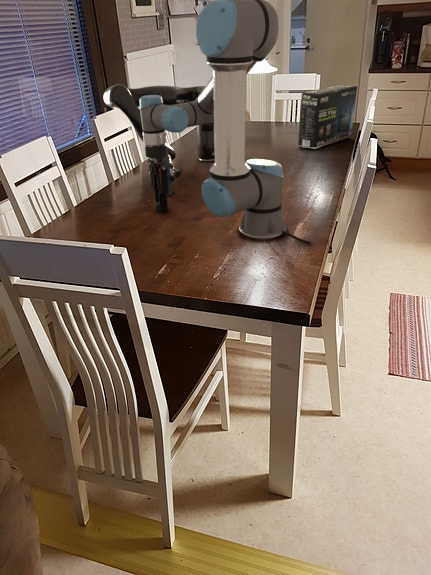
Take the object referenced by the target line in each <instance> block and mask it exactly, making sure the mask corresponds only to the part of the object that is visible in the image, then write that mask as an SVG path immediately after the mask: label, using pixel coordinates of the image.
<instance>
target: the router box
mask: <svg viewBox="0 0 431 575" xmlns="http://www.w3.org/2000/svg"><path fill="white" fill-rule="evenodd" d="M357 93H358V86H356V85H350V84H339V85H338V84H337V85H334V86H328V87H324V88H318V89H314V90H309V91H304V92H301V93H300V109H299V110H300V111H299V124H298V137H297V146H298V145H302V146H307V147H317V146H320V145H323V144H325V143H328V142H331V141H333V140H336V139H338V138H341V137H344V136H347V135H351V136H352V133H353V132H352V131H353V125H354V115H355V109H356V99H357ZM311 151H313V150H312V149H311Z"/></svg>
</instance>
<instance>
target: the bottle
mask: <svg viewBox="0 0 431 575" xmlns="http://www.w3.org/2000/svg"><path fill="white" fill-rule="evenodd" d="M165 144H167V142H166V143H165ZM163 161H164V164H165V166H164V167H167V168H168V169H167V177H168V191H169V193H168V194H166V196H172V195H173V194H174V193H173V183H172V182H173V181H172V180H171V168H170V158H169V154H168V151H167V155H166V156H164V157H163Z"/></svg>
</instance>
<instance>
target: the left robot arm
mask: <svg viewBox="0 0 431 575" xmlns="http://www.w3.org/2000/svg"><path fill="white" fill-rule="evenodd" d="M205 86H206V85H198V86H189V87H182V86H175V85H149V86H143V87H135V88H131V87H130V88H129V87H127V86H125V85H124V84H120V83H117V84H114V85H111V86H109V87H108V88H107V89H106V90H105V91H104V93H103V101H104V103H105V104H106V106H108V107H109V108H111V109H113V110H120V111H121V112H122V113H123V114H124V115H125V116H126V117H127V119H128V120H129V122H130V123H131V126H132V127H133V130H134V132H135V133H136V135H137V137H138V138H139V139H140V140H141V142H142V143H143V144H144V140H143V129H142V121H141V114H140V98H141V97H142V96H147V95H159V96H161V97H162V101H163V104H164V105H175V104H181V103H187V102H192V101H195V100H196V99H197V97H198V96H199V95H200V93H201V92H202V90H203V89H204V88H205ZM196 130H197V148H198V149H197V150H198V161H200V162H206V163H208V162H210V163H211V162H215V154H214V122H211V123H209V124H202V125H197V126H196ZM166 146H167V151H168V154H169V158H170V168H171V180H172V182H174V181H175V180H176V179H179V178H180V177H181V176H182V175H183V174H182V173H183V172H182V167H178V168H175V166H174V162H173V161H174V160H175V159H176V157H177V154H176V151H175V149H174V148H173V147H171V146H170V145H169V144H168V143H166ZM147 172H148V177H149V178H150V170H149V169H148V170H147Z"/></svg>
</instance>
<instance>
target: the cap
mask: <svg viewBox="0 0 431 575" xmlns="http://www.w3.org/2000/svg"><path fill="white" fill-rule="evenodd" d="M155 209H156V211H159V212H160V204H159V201H157V202H156V204H155Z"/></svg>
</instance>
